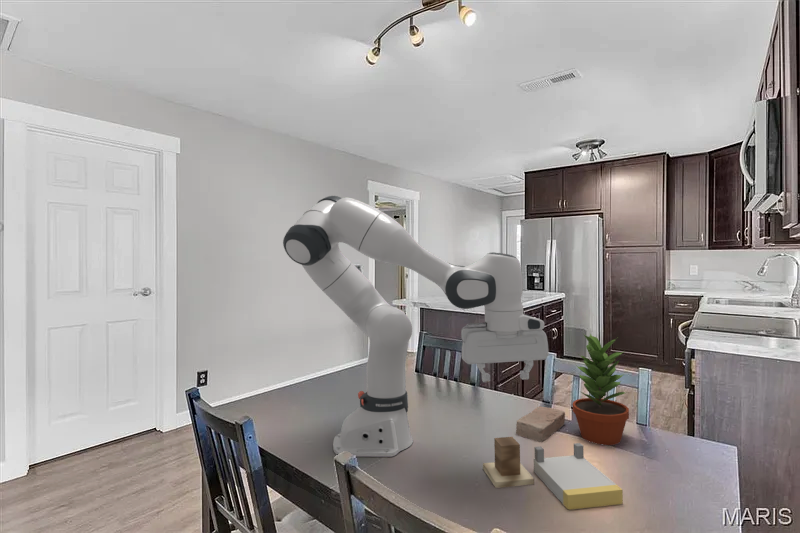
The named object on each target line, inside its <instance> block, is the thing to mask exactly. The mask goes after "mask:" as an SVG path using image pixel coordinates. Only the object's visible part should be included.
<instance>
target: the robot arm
mask: <svg viewBox="0 0 800 533" xmlns="http://www.w3.org/2000/svg"><path fill="white" fill-rule="evenodd" d="M340 243H343V244H347V246H349V247H351V248H353V249H354V250H356V251H358V252H359V253H361V254H363V255H364V256H366V257H368V258H370V259H373V260H374V261H377V262H380V263H383V264H385V265H394V266H398V267H399V266H400V267H402V268H403V267H404V268H407V269H409V270H411V271H413V272H416V273H417V274H419V275H420V276H422V277H424V278H426V279H427V280H428V281H430V282H432V283H434V284H436V285H437V286H438V287H440V288H439V289H441V290H442V291H443V293H444V294H445V296H446V298H447V299H448V301H449V303H450V304H452V305H453V306H455V307H456V308H458V309H460V310H462V309H463V310H470V309H471V310H472V309H474V308H478V307H483V306H484V322H478V323H472V322H469V323H466V325H464V326H463V327H462V328H461V329H460V331H461V332H460V339H461V341H462V343H461V344H462V345H461V359H462V360H463V361H464V363H466V364H467V365H476V367H477V369H478V370H479V372H480V373H481V380H482V382H483V383H490V382H491V374H489V372H486V371H485V370H484V369H485V368H486V364H495V363H497V364H498V363H510V362H523V363H524V364H525V366H524V367H523V370H519V377H520V379H521V380H523V381H524V380H529V379H530V373H531V372H530V371H532V368H533V367H534V361H543V360H546V359H547V357H548V356H549V342H548V336H547V334H546V332H545V331H544V328H545V321H544V320H542V319H540V318H537V317H533V316H531V315H529V314H525V313H524V306H523V303H522V302H523V301H522V294H523V291H524V290H523V289H524V287H523V285H524V284H523V272H522V267H521V266H522V264H521V263H520V260H519V259H518V258H517V257H516V256H515V255H512V254H507V253H502V252H489V253H486V254H485V255H483V256H482V257H481V258H480V259H478V260H476V261H475V262H474V261H473V263H470V264H468V265H466V266H465V265H458V264H457V265H456V264H452V263H450V262H448V261H446V260H445V259H442V258H440V256H438V255H435V253H432V252H430V251H429V250H427V249H426V248H424V247H423V246H422V245H420V244H419V243H418V242H417V241H416V240H415V238H414V237H413V236H412V235H411V234H410V232H409V231H407V229H405V227H404V226H402V224H400V222H397V220H396V219H394V218H392V217H391V216H390V215H389V214H386V213H385V212H384V211H382V210H379V209H378V208H376V207H374V206H372V205H371V204H368V203H365V201H364V202H363V201H361V200H358V199H356V198H352V197H347V196H346V197H340V196H338V195H329V196H325V197H324V198H322V199H319V200H318V201H317V203H316V204H314V205H312V206H311V207H310V208H309V209H307V210H306V211H304V212H303V214H302V216H300V217H299V219H298V220H297V221H295V223H294V224H293V225H292V226H291V227H290V228H289V229H288V230H287V231H286V233H285V235H284V237H283V240H282V245H283V248H284V251H285V253H286V255H287V256H288V257H289V259H291V261H293V262H295V263H297V264H298V265H301V266H302V268H303V269H304V270H305V272H306V273H307V275H308V276H309V277H310V278H311V280H312V281H313V282H314V283H315V285H316V286H317V287H318V288H319V290H321V291H322V292H323V293H324V294H325V295H326V296H327V297H328V298H329V299H330V300H331V301H332V302H333V303H334V304H335V305H336V306H337V307H338V308H339V309H340V310H341V311H342V312H343V313H344V314H345V315H346V316H347V317H348V318H349V319H350V320H351V321H352V323H354V324H355V326H357V327H358V328H359V329H360V330H361V332H362V333H363V334H364V335H366V337H368V338H369V349H368V358H367V362H366V367H365V370H366V392H365V391H363V390H360V391H359V392H357V396H358V397H357V398H358V400H359V407H358V408H357V409H355V410H354V411H353V412H351V413H350V414H349V415H347V416H346V418H344V420H343V422H342V426H341V429H340V432H339V433H338V434H336V436H334V439H333V442H332V443H333V444H332V449H333V452H334V453H335V455H337V454H339V453H341V452H343V451H348V452H350V453H351V454H353V455H356V456H355V457H370V458H371V457H373V458H374V457H376V458H377V457H384V458H385V457H387V458H388V457H395V456H396V455H397V454H399V452H401V451H403V450H405V449H407V448H409V447H411V446H412V444H413V442H414V439H413V436H412V433H411V429H410V424H409V417H408V411H409V395H408V392H407V391H408V390H407V385H406V383H407V382H406V381H407V379H406V365H407V364H406V363H407V362H406V361H407V354H408V350H409V349H408V348H409V342H410V339H411V337H412V334H413V324H412V321H411V320H410V318H409V316H408V315H407V314H406V312H404V311H403V310H401V309H400V308H397V307H394V306H392V305H391V304H389V303H388V302H387V301H386V300H385V298H383V295H381V293H380V292H379V291H378V290H377V289H376V288H375V286H374V285H373V284H372V282H371V281H370V280H369V278H367V277H366V275H365V274H363V272H362V271H360V269H358V267H357V266H356V265H355V264H354V263H353V262H352V261H351V260H350V259H349V258H348V257H347V256H345V255H344V253H343V252H342V251H341V250H340V246H339V244H340Z"/></svg>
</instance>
